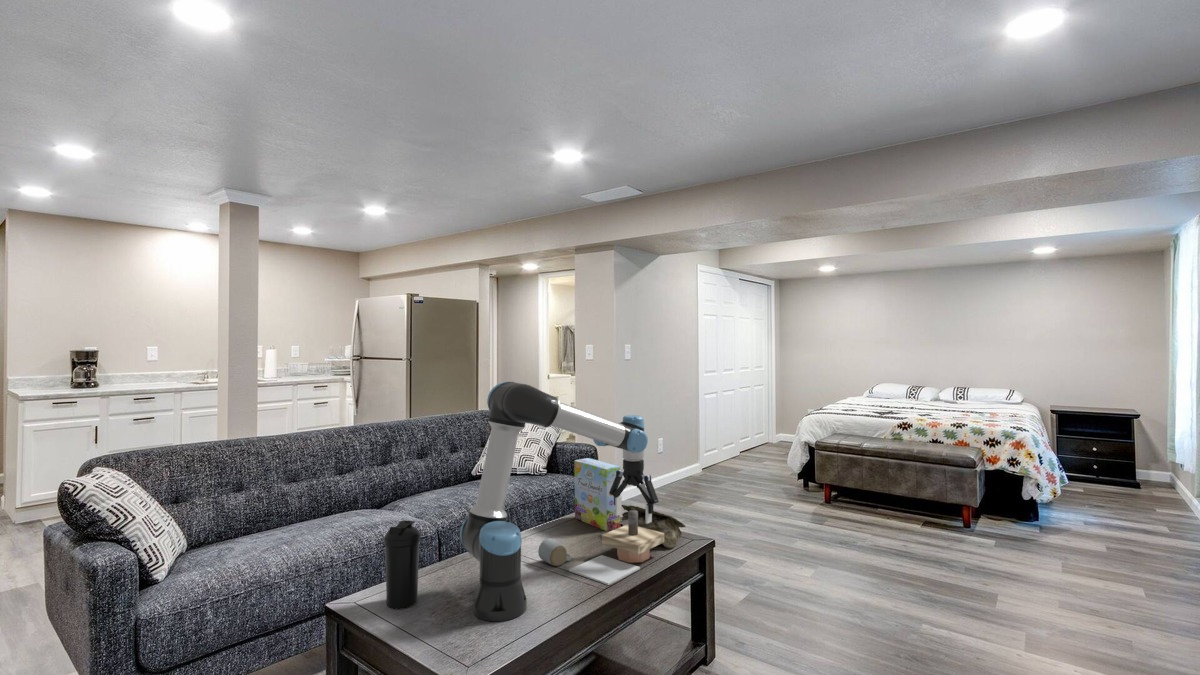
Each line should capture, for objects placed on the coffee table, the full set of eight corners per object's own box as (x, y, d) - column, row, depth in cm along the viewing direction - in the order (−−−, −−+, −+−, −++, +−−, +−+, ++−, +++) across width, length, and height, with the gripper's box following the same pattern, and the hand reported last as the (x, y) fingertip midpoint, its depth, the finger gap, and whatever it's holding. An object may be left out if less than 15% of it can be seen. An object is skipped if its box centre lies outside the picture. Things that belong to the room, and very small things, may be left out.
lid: (637, 554, 193) (638, 521, 193) (601, 543, 203) (601, 512, 203) (664, 542, 205) (664, 510, 205) (628, 532, 215) (628, 502, 215)
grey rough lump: (621, 543, 231) (603, 521, 224) (636, 516, 238) (618, 494, 231) (677, 559, 211) (659, 536, 204) (691, 529, 218) (674, 506, 211)
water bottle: (426, 596, 171) (427, 519, 172) (408, 612, 161) (408, 530, 162) (396, 593, 173) (396, 517, 174) (376, 609, 163) (376, 528, 164)
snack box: (572, 519, 247) (573, 459, 247) (588, 515, 252) (588, 457, 252) (605, 532, 230) (606, 468, 230) (621, 527, 236) (621, 465, 236)
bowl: (636, 564, 196) (636, 544, 196) (611, 557, 203) (611, 537, 203) (654, 555, 205) (654, 536, 205) (630, 548, 212) (630, 529, 212)
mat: (608, 585, 180) (608, 583, 180) (568, 571, 191) (568, 569, 191) (640, 568, 193) (640, 567, 193) (601, 556, 204) (601, 555, 204)
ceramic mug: (550, 569, 192) (551, 546, 192) (537, 562, 198) (538, 540, 199) (576, 562, 199) (576, 540, 199) (562, 555, 205) (563, 534, 205)
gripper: (668, 462, 199) (668, 523, 199) (612, 453, 215) (612, 509, 215) (656, 465, 193) (656, 528, 193) (600, 456, 209) (599, 514, 209)
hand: (633, 518), depth 204 cm, fingers open, 13 cm apart
